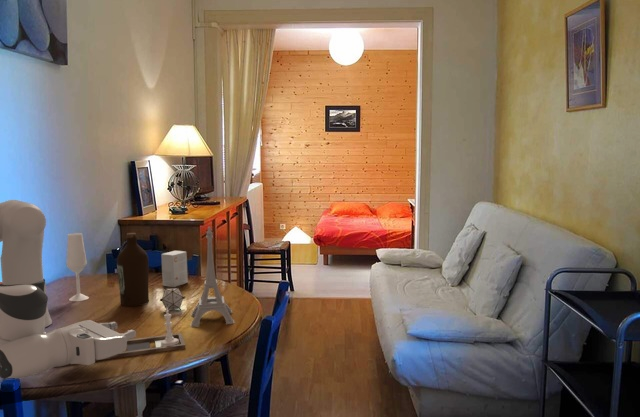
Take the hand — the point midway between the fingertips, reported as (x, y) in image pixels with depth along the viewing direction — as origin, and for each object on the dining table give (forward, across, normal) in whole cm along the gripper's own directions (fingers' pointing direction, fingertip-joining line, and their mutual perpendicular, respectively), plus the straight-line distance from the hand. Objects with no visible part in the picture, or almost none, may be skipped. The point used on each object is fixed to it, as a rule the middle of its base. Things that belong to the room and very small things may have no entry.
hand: (125, 328), depth 137 cm
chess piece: (+12, +1, -7) cm, 14 cm away
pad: (+12, 0, -8) cm, 14 cm away
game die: (+31, -26, -8) cm, 41 cm away
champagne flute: (+16, -64, -8) cm, 67 cm away
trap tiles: (+2, -5, -8) cm, 10 cm away
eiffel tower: (+34, -9, -8) cm, 36 cm away
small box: (+51, -55, -8) cm, 76 cm away
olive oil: (+27, -44, -8) cm, 52 cm away
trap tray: (+2, -5, -8) cm, 10 cm away
